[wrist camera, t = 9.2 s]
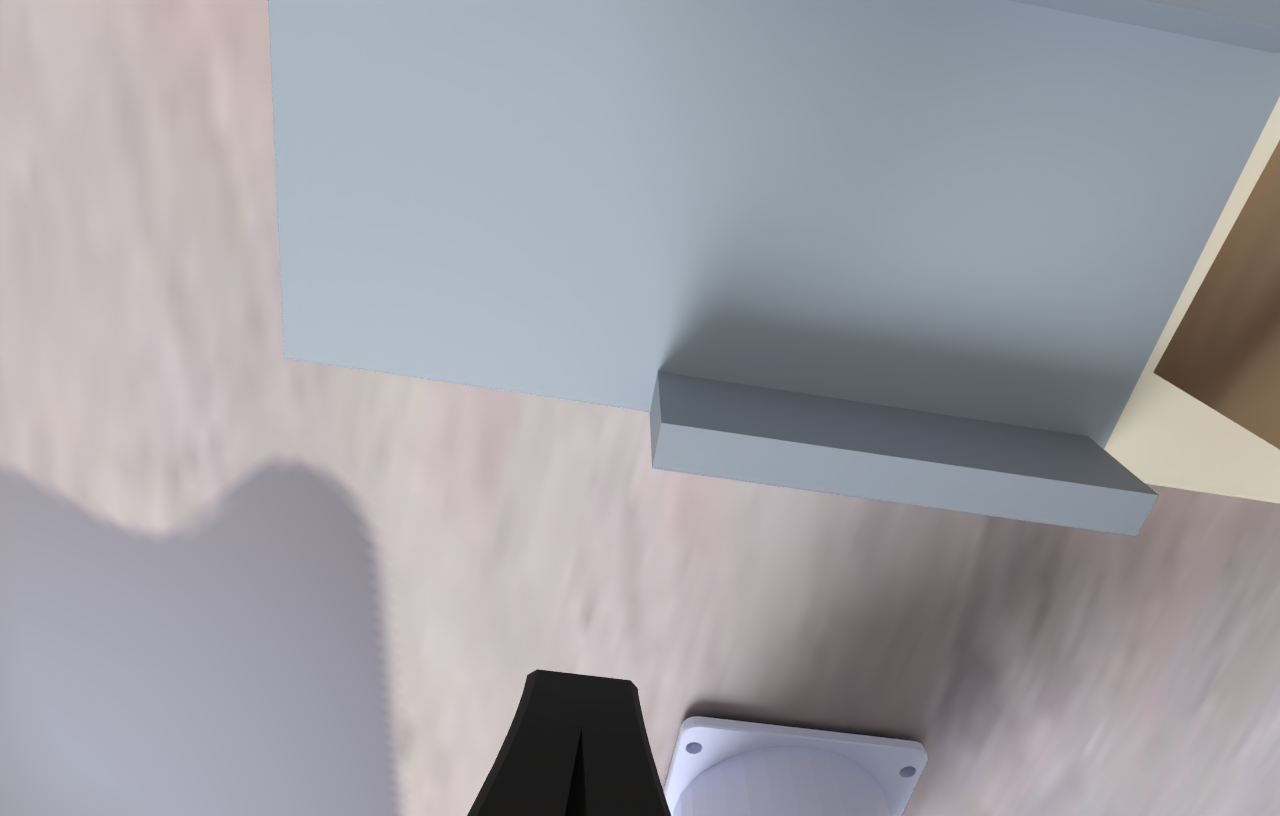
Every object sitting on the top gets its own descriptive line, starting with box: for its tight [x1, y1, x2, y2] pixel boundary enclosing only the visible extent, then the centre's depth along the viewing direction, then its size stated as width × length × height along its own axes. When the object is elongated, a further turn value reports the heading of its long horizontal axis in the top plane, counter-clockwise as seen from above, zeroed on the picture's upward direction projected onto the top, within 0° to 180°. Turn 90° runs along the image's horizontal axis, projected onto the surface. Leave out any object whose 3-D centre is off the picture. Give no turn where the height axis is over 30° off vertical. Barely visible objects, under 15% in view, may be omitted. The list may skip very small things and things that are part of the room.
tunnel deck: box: [268, 0, 1280, 536], centre depth 15 cm, size 10×34×4 cm, turn 81°
